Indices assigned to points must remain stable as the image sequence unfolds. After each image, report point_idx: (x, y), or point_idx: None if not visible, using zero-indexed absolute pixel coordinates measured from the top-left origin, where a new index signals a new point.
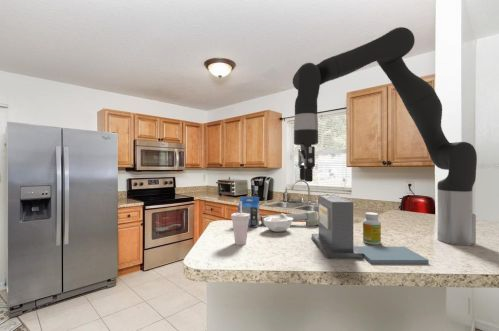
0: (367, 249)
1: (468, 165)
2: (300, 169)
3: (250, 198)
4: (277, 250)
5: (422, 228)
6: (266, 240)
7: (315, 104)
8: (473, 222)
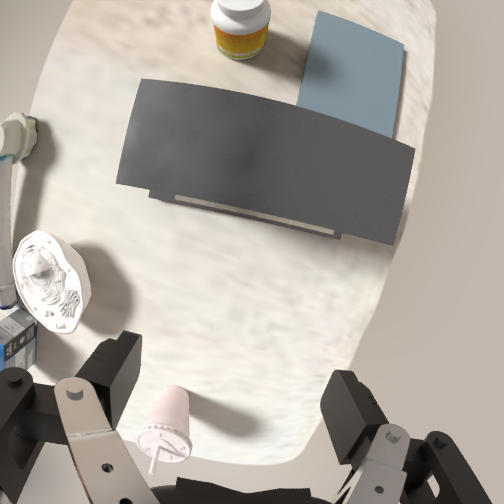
0: (324, 106)
1: None
2: (115, 428)
3: None
4: (246, 334)
5: None
6: (157, 337)
7: None
8: None
